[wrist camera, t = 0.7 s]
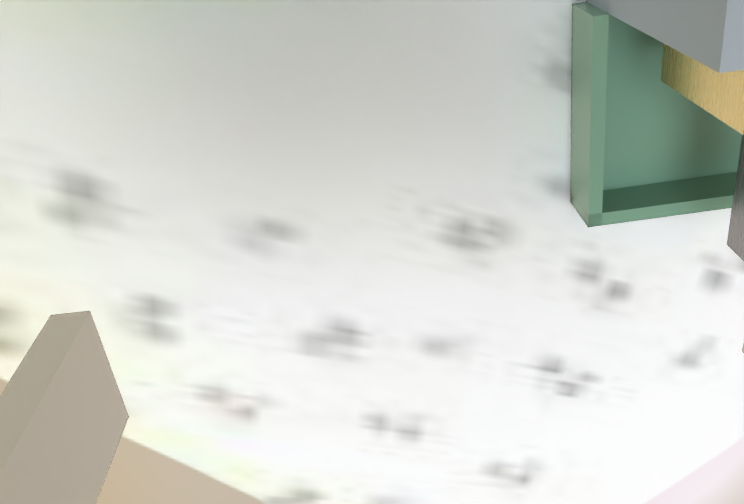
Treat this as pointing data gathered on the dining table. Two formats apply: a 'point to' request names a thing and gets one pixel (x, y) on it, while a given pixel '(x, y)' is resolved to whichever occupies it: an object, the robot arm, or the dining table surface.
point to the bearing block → (688, 27)
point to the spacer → (706, 86)
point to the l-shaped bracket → (738, 209)
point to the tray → (639, 131)
